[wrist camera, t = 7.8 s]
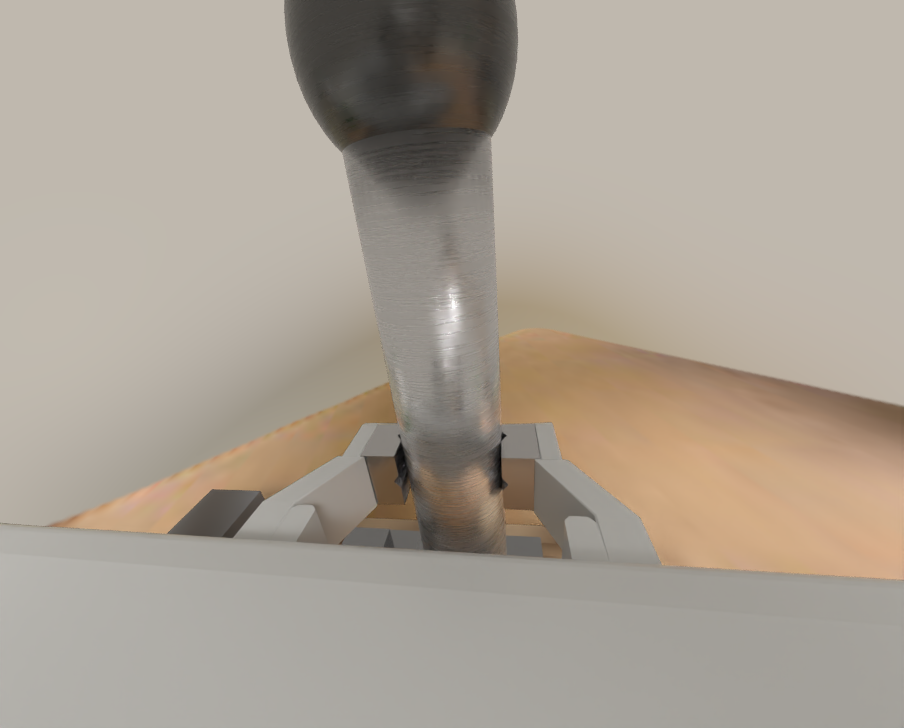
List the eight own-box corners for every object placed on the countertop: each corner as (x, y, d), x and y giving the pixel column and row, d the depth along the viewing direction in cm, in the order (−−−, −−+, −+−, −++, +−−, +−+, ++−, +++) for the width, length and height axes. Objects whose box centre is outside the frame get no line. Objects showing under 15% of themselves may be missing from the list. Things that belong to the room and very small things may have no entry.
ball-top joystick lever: (539, 561, 16) (557, -8, 7) (566, 783, 10) (865, -1133, 1) (370, 550, 18) (218, 62, 9) (300, 739, 11) (-449, -288, 3)
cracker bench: (646, 562, 17) (665, 487, 15) (804, 937, 8) (911, 895, 6) (252, 538, 21) (218, 475, 19) (71, 781, 12) (-36, 718, 10)
